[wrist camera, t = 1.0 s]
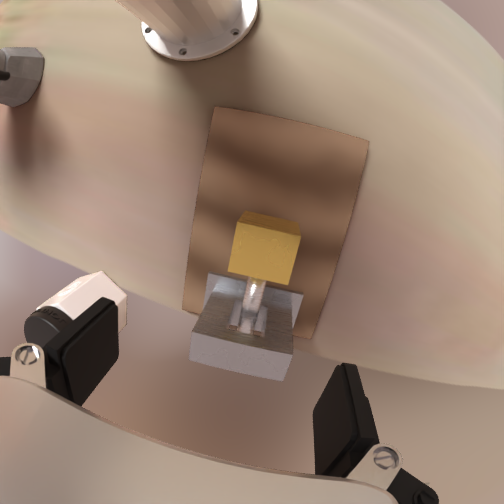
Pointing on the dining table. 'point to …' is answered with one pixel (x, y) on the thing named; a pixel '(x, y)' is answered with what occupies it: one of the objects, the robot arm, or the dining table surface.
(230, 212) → the copper board
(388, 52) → the dining table surface
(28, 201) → the dining table surface
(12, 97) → the coffeepot
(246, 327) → the yellow block headed rod
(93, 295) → the jar
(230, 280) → the brushed steel socket base
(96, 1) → the dining table surface
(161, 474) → the robot arm
